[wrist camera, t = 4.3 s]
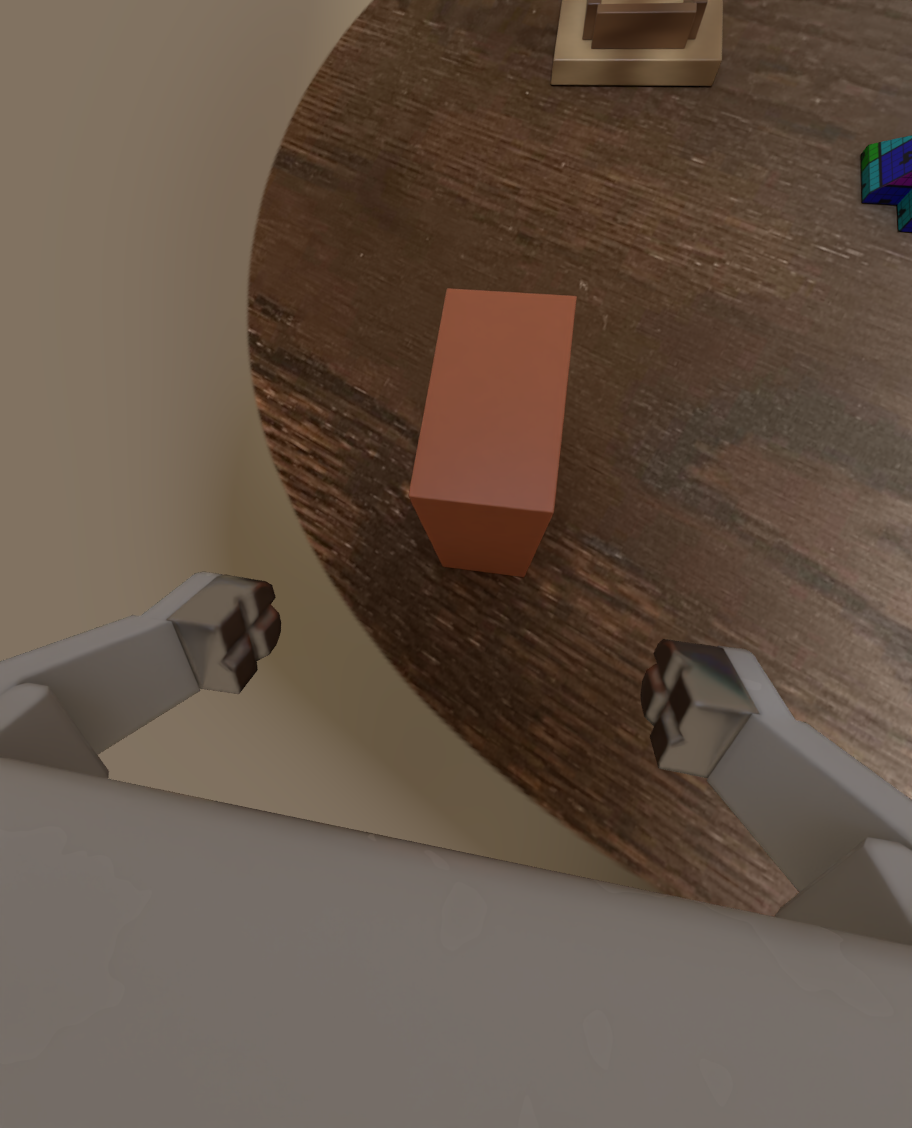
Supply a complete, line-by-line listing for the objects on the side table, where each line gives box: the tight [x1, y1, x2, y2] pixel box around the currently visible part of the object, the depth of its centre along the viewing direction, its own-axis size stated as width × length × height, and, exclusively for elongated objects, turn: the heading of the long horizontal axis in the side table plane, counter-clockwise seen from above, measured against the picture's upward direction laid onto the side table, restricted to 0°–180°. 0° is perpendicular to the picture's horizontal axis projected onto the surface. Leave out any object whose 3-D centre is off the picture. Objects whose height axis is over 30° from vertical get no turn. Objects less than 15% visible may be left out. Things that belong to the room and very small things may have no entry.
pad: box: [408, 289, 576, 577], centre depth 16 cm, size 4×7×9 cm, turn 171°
